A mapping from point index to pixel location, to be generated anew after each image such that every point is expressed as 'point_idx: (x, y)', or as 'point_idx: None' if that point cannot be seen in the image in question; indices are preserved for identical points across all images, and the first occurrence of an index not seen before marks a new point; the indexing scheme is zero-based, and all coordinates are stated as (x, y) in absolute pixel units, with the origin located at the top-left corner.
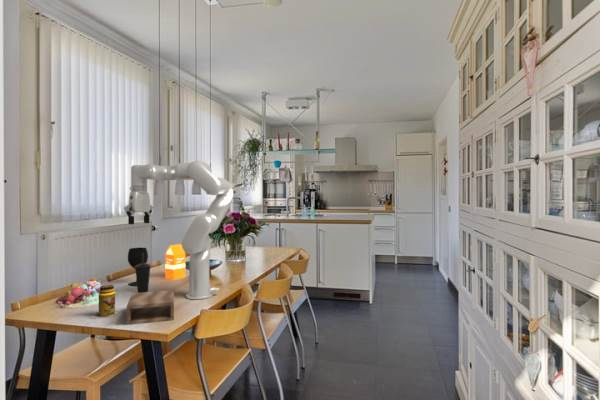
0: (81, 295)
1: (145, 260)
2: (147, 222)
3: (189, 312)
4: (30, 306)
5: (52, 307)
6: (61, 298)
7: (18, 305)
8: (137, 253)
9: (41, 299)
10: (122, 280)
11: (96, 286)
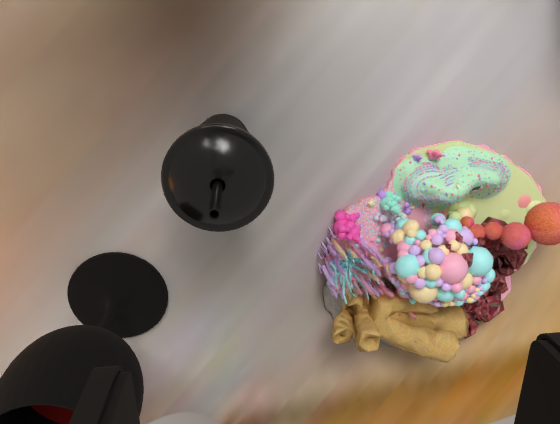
0: (486, 238)
1: (57, 333)
2: (130, 391)
3: None
4: None
5: (546, 262)
6: (487, 311)
7: None
8: None
9: (472, 390)
10: None
11: (440, 237)
